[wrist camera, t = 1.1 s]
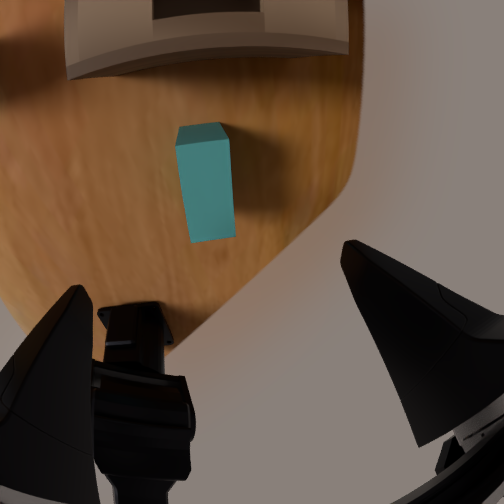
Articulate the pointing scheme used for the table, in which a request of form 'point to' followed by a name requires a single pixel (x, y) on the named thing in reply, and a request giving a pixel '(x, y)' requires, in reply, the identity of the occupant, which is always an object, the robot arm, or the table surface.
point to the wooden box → (196, 32)
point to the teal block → (206, 181)
